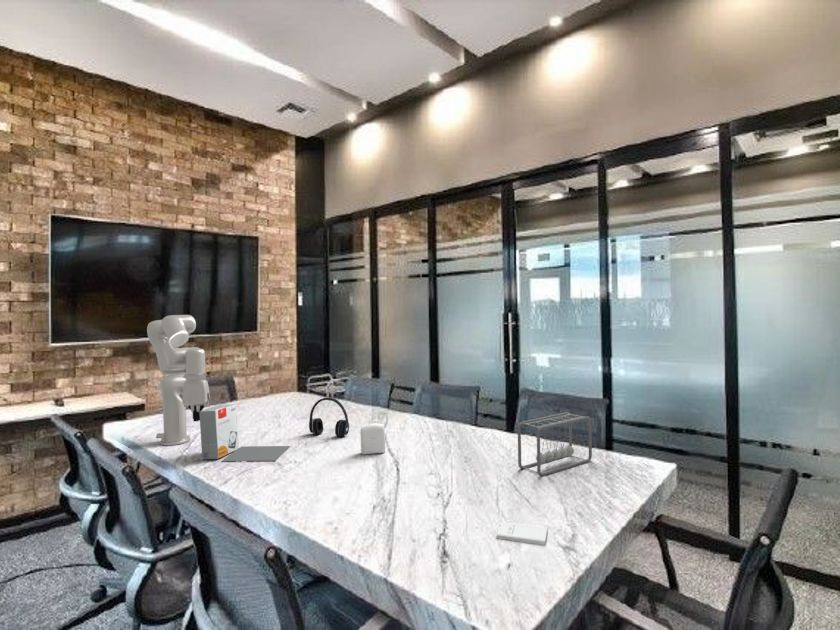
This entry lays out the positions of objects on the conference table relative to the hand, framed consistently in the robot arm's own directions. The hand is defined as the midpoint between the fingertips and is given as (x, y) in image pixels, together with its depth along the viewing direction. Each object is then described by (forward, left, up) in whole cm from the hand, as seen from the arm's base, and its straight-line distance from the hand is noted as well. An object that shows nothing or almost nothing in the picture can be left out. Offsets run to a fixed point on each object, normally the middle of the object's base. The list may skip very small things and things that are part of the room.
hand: (197, 420), depth 201 cm
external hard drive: (+124, -72, -16) cm, 144 cm away
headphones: (+50, +28, -15) cm, 59 cm away
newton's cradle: (+147, -18, -15) cm, 149 cm away
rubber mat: (+26, 0, -15) cm, 29 cm away
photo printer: (+75, 0, -15) cm, 77 cm away
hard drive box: (+10, 0, -15) cm, 18 cm away
